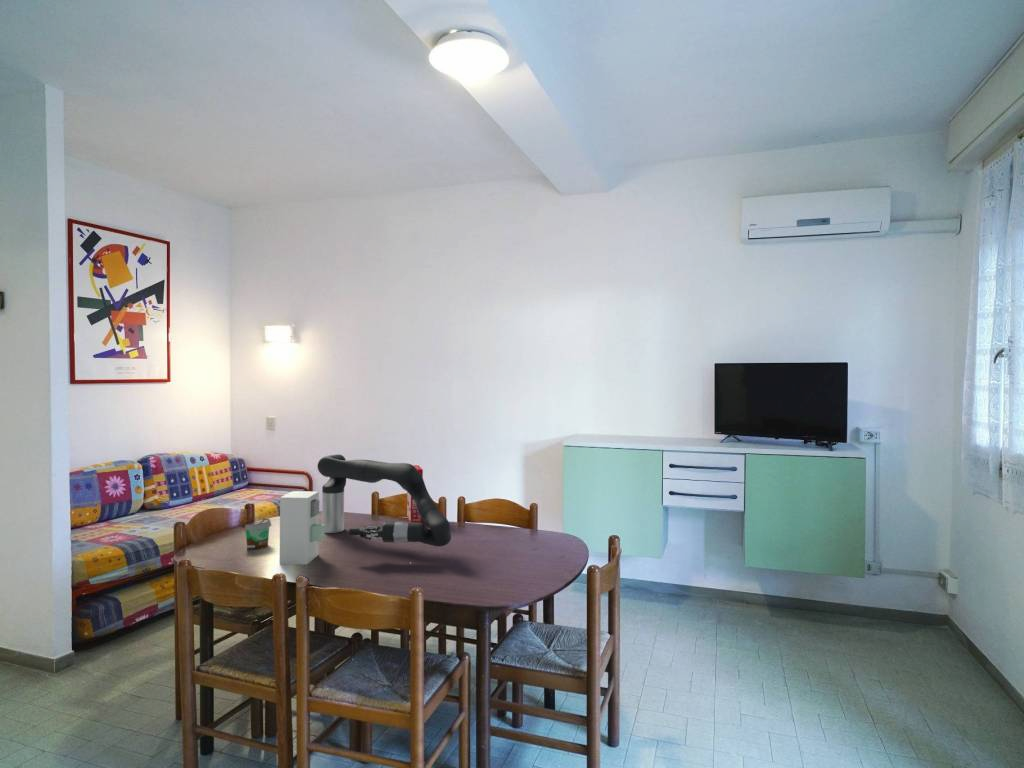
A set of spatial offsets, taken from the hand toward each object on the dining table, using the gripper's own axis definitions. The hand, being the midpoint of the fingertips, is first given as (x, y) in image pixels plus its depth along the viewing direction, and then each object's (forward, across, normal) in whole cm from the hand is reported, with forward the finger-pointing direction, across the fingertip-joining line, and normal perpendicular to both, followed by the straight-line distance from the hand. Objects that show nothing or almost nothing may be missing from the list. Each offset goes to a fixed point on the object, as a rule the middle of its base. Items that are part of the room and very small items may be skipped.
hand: (349, 531), depth 224 cm
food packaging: (-13, -64, +11) cm, 67 cm away
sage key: (+13, 0, +3) cm, 13 cm away
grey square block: (+15, 0, -6) cm, 16 cm away
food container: (+39, -16, +10) cm, 44 cm away
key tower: (+19, 0, +10) cm, 21 cm away
